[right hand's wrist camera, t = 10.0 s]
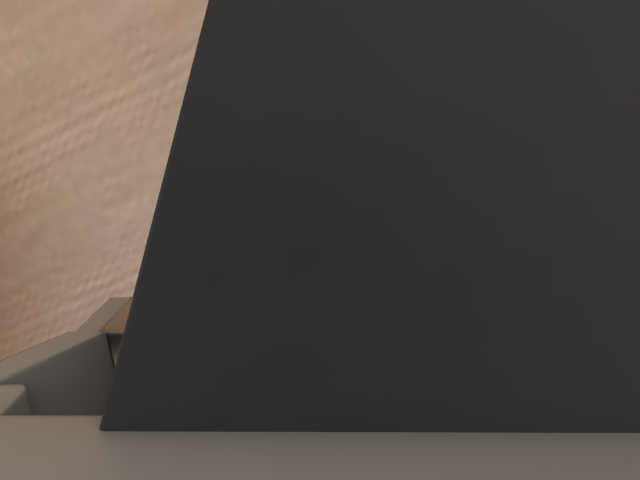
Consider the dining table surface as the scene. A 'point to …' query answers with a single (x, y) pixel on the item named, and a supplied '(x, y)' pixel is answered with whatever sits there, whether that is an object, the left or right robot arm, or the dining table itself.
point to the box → (395, 224)
